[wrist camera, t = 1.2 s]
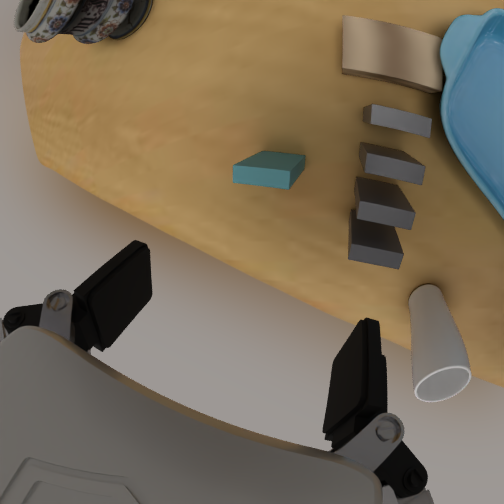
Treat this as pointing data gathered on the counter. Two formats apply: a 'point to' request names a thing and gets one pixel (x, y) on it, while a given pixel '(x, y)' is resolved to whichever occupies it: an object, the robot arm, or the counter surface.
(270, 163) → the domino teal
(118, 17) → the apothecary jar
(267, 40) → the counter surface
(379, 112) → the domino
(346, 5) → the counter surface
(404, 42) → the oak block
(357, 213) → the domino
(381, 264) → the domino
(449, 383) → the drinking glass
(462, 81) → the casserole dish
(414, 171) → the domino
